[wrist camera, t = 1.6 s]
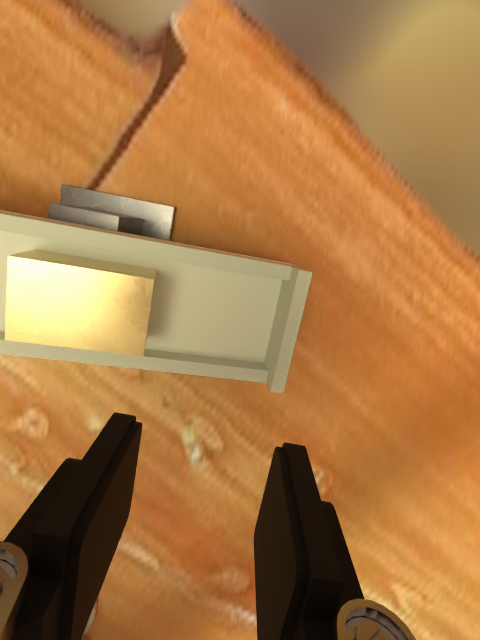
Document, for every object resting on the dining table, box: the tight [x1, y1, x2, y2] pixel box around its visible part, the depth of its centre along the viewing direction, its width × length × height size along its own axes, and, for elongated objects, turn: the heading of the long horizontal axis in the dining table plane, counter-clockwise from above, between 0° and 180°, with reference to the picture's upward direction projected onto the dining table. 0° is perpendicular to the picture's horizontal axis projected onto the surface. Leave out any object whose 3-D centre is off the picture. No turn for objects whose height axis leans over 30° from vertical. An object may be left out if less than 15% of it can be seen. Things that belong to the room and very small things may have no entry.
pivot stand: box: [48, 184, 176, 241], centre depth 32 cm, size 10×14×8 cm
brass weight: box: [5, 249, 157, 356], centre depth 24 cm, size 8×5×4 cm, turn 79°
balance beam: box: [0, 210, 313, 393], centre depth 27 cm, size 32×9×8 cm, turn 79°
